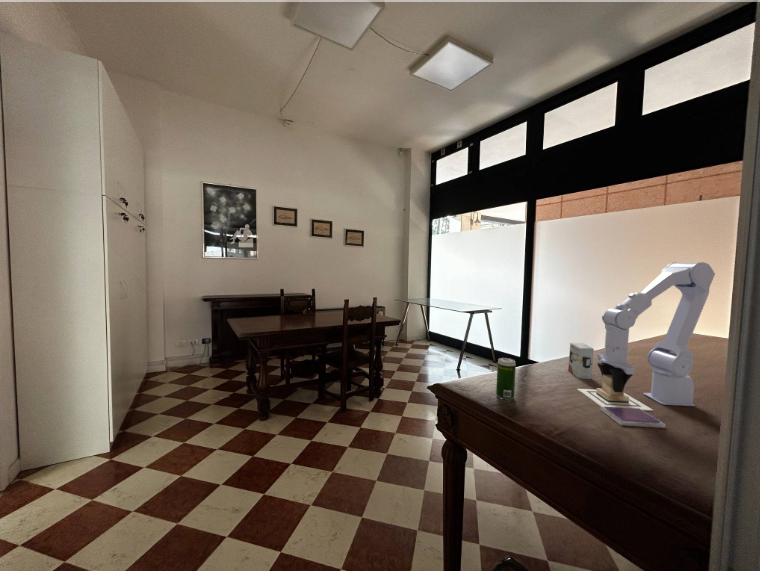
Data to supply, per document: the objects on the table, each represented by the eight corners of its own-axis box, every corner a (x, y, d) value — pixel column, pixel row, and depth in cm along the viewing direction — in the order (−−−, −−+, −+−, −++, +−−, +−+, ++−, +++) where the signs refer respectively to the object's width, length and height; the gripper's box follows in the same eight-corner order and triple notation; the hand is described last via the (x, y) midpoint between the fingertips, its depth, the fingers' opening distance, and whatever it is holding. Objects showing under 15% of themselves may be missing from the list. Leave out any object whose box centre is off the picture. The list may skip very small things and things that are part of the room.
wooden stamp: (615, 395, 101) (617, 374, 101) (628, 403, 95) (630, 381, 95) (596, 394, 102) (597, 373, 101) (608, 402, 96) (609, 380, 95)
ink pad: (639, 411, 91) (639, 407, 90) (665, 427, 82) (665, 423, 81) (599, 409, 91) (600, 405, 91) (620, 425, 82) (621, 420, 82)
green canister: (517, 400, 96) (519, 363, 96) (500, 400, 96) (502, 362, 95) (509, 393, 102) (511, 357, 101) (493, 393, 102) (494, 357, 101)
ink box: (567, 370, 125) (569, 342, 125) (580, 371, 125) (582, 342, 124) (578, 378, 117) (580, 347, 116) (592, 379, 116) (594, 348, 115)
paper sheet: (620, 391, 105) (620, 390, 105) (653, 411, 91) (653, 409, 91) (577, 389, 106) (577, 388, 106) (603, 408, 92) (603, 407, 92)
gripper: (589, 340, 105) (586, 379, 106) (618, 352, 91) (614, 397, 92) (611, 341, 104) (608, 380, 105) (644, 353, 90) (640, 399, 91)
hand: (612, 388), depth 98 cm, fingers closed on wooden stamp, 4 cm apart
